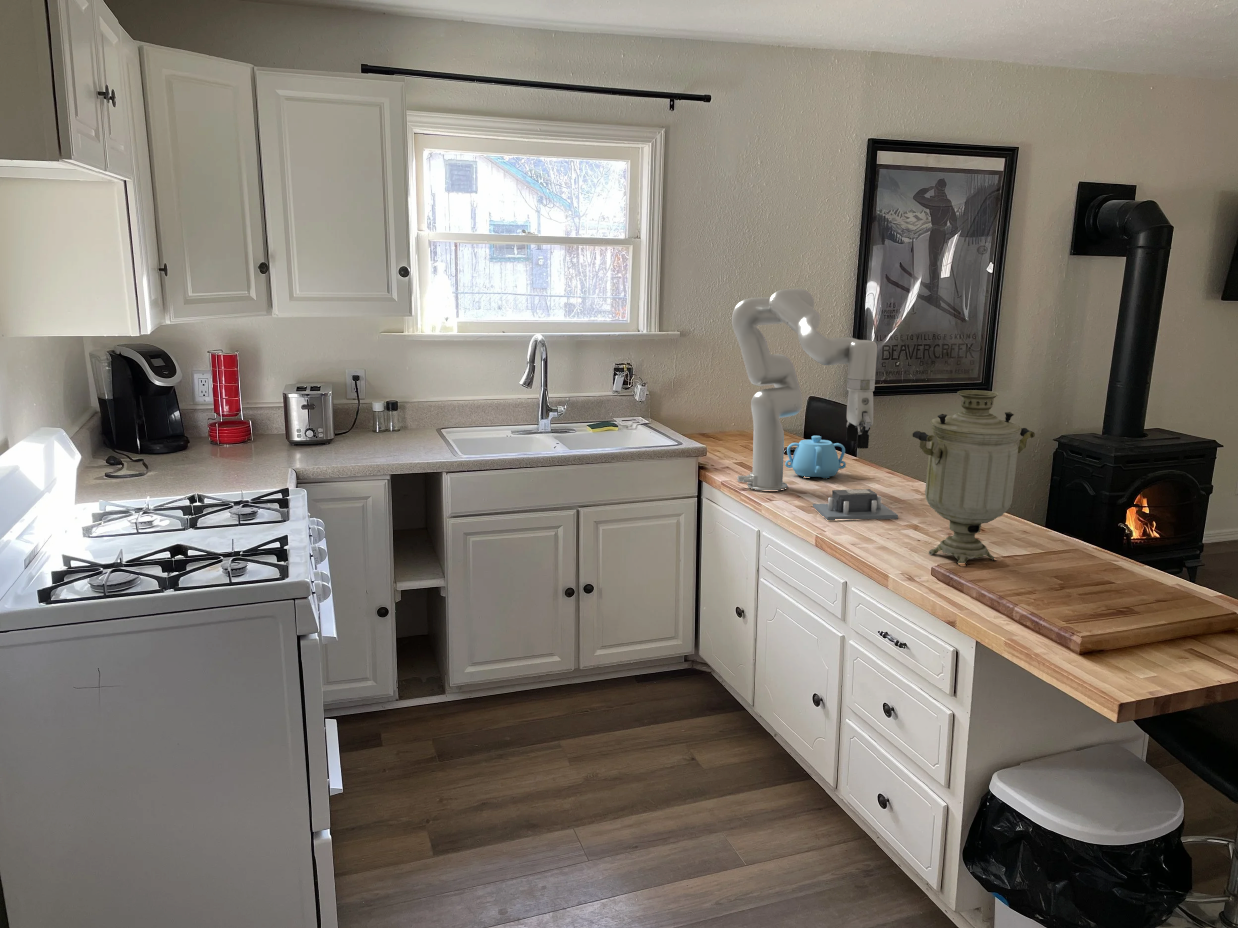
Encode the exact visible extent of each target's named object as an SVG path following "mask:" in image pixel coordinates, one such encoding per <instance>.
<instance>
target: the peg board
mask: <svg viewBox="0 0 1238 928" xmlns="http://www.w3.org/2000/svg"><path fill="white" fill-rule="evenodd" d="M833 499H834V498H832V496H830V497H828V499H827V500H828V501H827V502H828V503H812V508H813V507H814V508H815V509H816V510H817V511H818V512H819V513H820V514H821V515H822V516H824V517H825V518H826V519H827V520H835V519H878V520H898V519H899V514H897V513H896V512H894V510H892V509H890V508H889V507H887V506H886V505H885V504H883V503H882V496H881V495H877V501H876V500H872V505H871V512H848V511H849V501H844V507H843V512H837V511H836V510H835V509H833ZM817 511H816V512H817ZM818 512H817V513H818ZM819 513H818V514H819ZM820 514H819V515H820ZM821 515H820V516H821ZM822 516H821V517H822ZM825 518H824V519H825ZM826 519H825V520H826ZM827 520H826V521H827Z"/></svg>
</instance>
